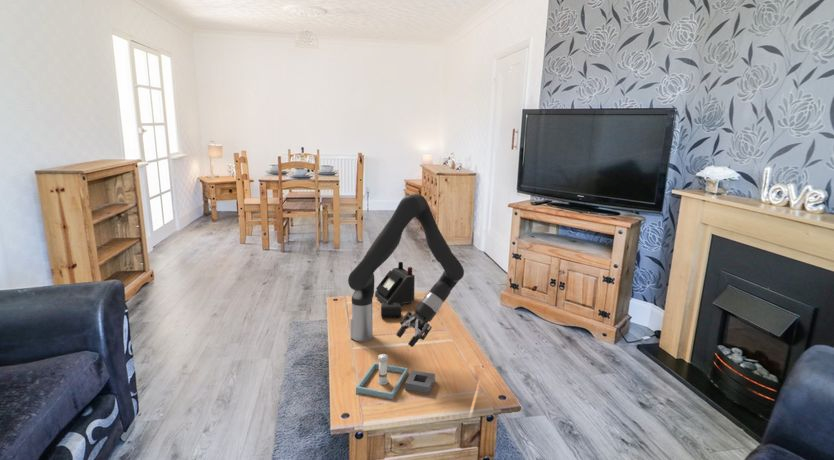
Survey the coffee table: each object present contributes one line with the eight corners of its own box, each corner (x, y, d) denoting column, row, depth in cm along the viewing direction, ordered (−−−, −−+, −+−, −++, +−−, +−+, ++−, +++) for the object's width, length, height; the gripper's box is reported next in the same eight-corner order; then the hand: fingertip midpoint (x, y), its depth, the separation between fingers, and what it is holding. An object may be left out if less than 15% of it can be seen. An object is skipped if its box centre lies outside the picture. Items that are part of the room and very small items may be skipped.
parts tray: (355, 394, 161) (355, 387, 160) (374, 369, 177) (374, 362, 177) (392, 401, 157) (392, 394, 156) (407, 375, 174) (407, 368, 173)
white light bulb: (376, 384, 166) (376, 358, 163) (380, 379, 169) (380, 353, 167) (385, 386, 165) (385, 359, 162) (389, 381, 168) (389, 354, 166)
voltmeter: (374, 298, 249) (374, 264, 244) (400, 294, 257) (400, 260, 252) (387, 309, 235) (387, 273, 231) (414, 303, 243) (414, 268, 239)
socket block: (405, 392, 162) (405, 382, 161) (412, 379, 171) (412, 370, 170) (428, 397, 160) (429, 387, 159) (434, 383, 168) (435, 374, 167)
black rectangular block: (381, 320, 222) (381, 307, 220) (380, 314, 229) (380, 302, 227) (401, 319, 223) (401, 306, 222) (399, 313, 230) (400, 301, 229)
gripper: (413, 295, 176) (388, 329, 172) (434, 307, 164) (408, 344, 161) (424, 305, 180) (399, 338, 176) (445, 318, 169) (420, 353, 165)
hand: (403, 341), depth 169 cm, fingers open, 8 cm apart
